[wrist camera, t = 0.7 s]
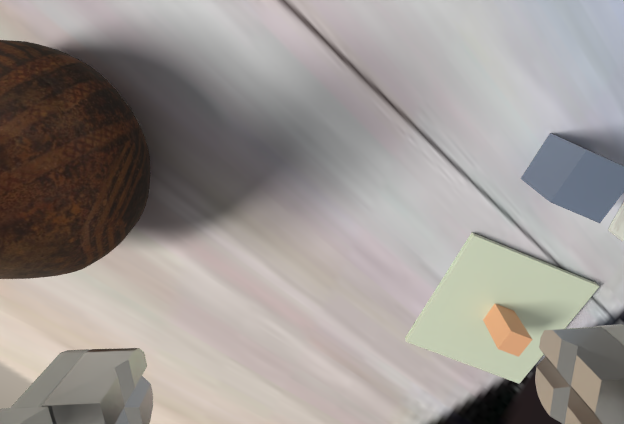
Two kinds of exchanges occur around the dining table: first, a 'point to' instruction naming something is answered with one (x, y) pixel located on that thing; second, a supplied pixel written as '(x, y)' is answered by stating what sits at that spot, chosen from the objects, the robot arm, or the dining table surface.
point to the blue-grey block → (575, 178)
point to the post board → (502, 287)
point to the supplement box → (618, 224)
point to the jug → (64, 163)
